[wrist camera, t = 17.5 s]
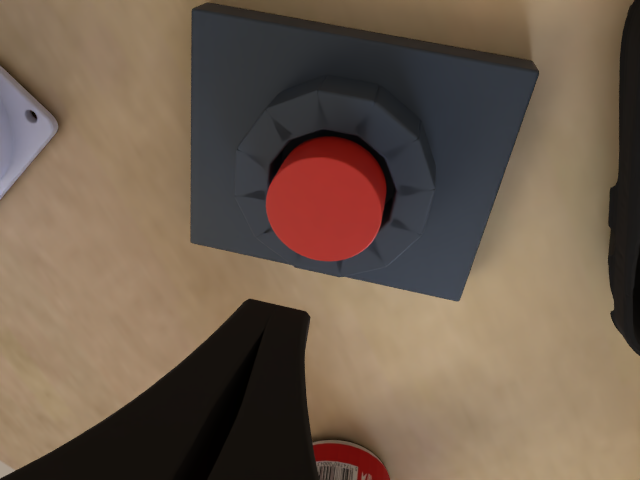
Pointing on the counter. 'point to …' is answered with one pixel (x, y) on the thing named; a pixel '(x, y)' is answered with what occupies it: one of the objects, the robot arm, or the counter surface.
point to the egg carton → (627, 191)
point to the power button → (327, 199)
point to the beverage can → (347, 462)
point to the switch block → (352, 137)
